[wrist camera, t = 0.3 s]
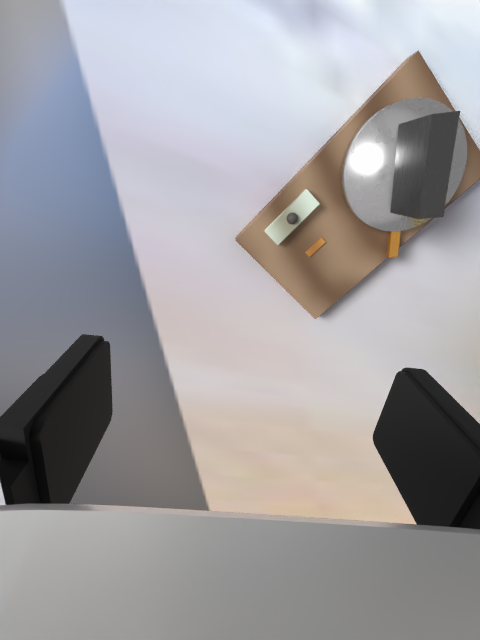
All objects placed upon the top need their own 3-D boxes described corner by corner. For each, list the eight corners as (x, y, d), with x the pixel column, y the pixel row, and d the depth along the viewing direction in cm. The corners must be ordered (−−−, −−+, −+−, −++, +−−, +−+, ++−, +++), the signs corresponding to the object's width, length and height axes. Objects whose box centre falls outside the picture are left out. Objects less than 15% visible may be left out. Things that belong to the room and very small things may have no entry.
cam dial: (342, 108, 31) (371, 90, 24) (468, 94, 31) (530, 72, 24) (337, 260, 37) (359, 278, 31) (442, 250, 37) (486, 266, 30)
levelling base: (407, 58, 31) (430, 42, 28) (477, 169, 35) (504, 168, 32) (235, 237, 38) (235, 243, 34) (311, 313, 42) (319, 325, 38)
